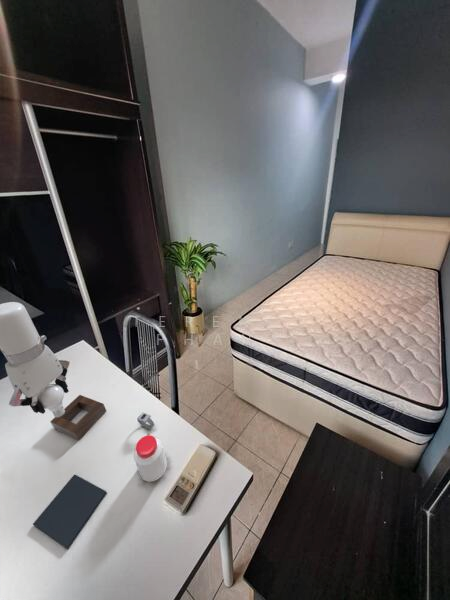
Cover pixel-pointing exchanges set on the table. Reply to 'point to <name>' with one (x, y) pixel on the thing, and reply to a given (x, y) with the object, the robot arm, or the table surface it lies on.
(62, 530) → the mat
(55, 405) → the lightbulb
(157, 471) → the pill bottle
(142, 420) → the wristwatch
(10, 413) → the table surface
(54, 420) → the socket block
